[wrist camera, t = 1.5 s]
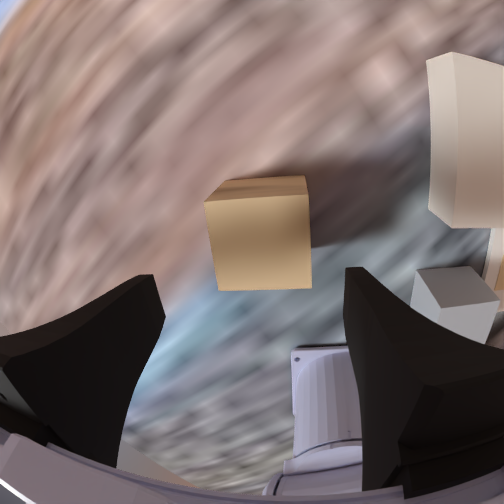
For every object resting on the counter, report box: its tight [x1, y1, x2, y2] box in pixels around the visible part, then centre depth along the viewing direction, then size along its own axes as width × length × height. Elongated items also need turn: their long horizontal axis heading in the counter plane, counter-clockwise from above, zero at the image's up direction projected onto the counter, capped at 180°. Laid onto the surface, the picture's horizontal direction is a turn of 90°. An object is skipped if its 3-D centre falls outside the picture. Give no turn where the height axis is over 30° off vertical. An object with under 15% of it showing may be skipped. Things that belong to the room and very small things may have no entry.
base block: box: [426, 52, 504, 228], centre depth 14 cm, size 10×10×4 cm
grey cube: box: [410, 266, 500, 344], centre depth 18 cm, size 5×5×5 cm
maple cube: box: [204, 175, 312, 291], centre depth 17 cm, size 5×5×5 cm
